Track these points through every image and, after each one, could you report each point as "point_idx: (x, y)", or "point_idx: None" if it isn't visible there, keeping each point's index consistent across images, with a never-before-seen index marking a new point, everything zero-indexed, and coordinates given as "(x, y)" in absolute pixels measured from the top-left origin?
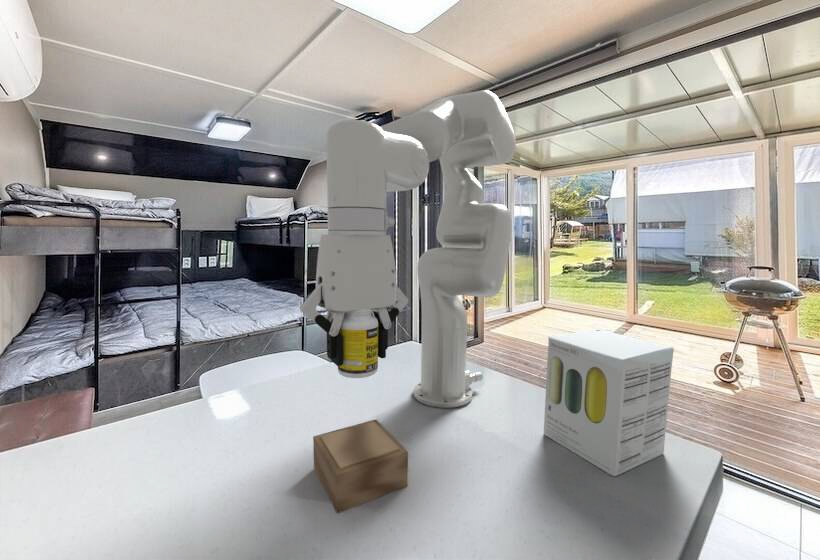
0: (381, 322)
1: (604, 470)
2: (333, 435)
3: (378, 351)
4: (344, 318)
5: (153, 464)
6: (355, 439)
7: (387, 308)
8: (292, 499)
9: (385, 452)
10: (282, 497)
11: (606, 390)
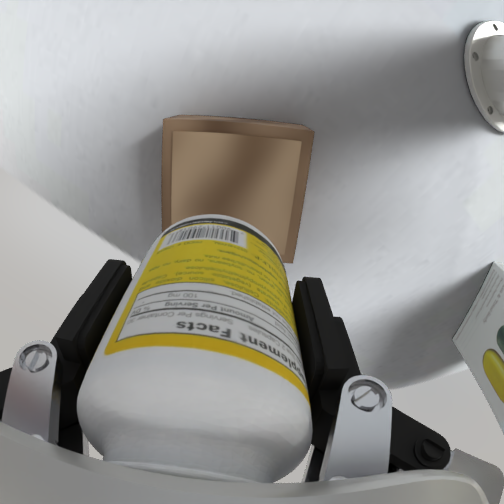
0: (310, 456)
1: (456, 333)
2: (197, 144)
3: None
4: (102, 454)
5: (11, 17)
6: (229, 184)
7: (414, 469)
8: (132, 168)
9: None
10: (121, 157)
11: (497, 393)
